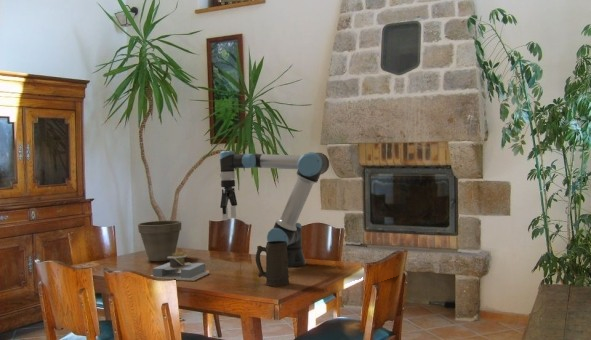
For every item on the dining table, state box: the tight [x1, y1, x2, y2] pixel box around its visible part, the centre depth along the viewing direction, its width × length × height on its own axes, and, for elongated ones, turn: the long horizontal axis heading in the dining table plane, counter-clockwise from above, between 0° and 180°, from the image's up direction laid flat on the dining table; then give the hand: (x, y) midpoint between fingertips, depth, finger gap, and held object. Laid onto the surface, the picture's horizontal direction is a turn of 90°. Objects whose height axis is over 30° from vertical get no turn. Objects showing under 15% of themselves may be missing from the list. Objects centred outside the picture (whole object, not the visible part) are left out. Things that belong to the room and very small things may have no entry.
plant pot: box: [137, 219, 182, 262], centre depth 365 cm, size 25×25×22 cm
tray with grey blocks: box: [151, 261, 210, 282], centre depth 313 cm, size 24×18×5 cm
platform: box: [163, 251, 194, 270], centre depth 312 cm, size 12×18×7 cm, turn 126°
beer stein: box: [255, 241, 290, 287], centre depth 289 cm, size 15×11×20 cm
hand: (229, 218), depth 337 cm, fingers open, 13 cm apart
